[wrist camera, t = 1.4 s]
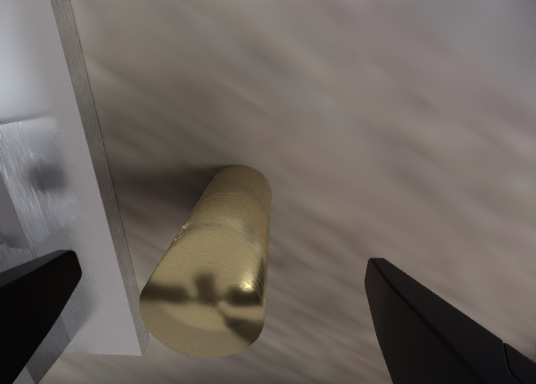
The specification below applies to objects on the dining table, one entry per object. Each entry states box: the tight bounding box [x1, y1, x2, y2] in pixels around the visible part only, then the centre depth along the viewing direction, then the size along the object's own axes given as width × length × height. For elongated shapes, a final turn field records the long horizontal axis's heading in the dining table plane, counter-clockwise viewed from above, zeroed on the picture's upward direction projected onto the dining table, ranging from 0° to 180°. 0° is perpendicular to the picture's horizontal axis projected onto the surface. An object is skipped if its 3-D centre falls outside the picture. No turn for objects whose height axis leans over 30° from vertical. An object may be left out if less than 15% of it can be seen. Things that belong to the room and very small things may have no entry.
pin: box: [139, 165, 272, 358], centre depth 10 cm, size 3×3×7 cm
